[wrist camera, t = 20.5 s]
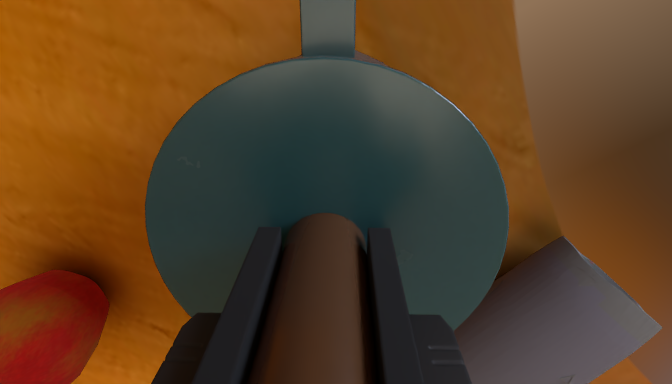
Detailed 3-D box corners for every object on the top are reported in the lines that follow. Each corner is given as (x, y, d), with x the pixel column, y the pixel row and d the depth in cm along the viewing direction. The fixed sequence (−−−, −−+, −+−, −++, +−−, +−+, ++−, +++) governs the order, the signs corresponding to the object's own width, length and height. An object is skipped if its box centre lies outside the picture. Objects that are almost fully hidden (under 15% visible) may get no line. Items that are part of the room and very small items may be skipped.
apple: (139, 266, 34) (40, 382, 23) (126, 333, 37) (35, 462, 26) (34, 233, 32) (-125, 340, 21) (30, 307, 36) (-107, 430, 25)
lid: (190, 349, 18) (50, 642, 9) (122, 54, 12) (-385, 117, 4) (469, 353, 17) (585, 660, 9) (531, 53, 12) (991, 122, 3)
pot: (263, 233, 32) (229, 322, 22) (241, 5, 24) (175, -9, 15) (406, 234, 32) (432, 325, 22) (426, 4, 24) (480, -11, 15)
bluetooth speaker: (420, 397, 40) (442, 506, 31) (356, 358, 38) (359, 463, 29) (600, 268, 33) (700, 361, 23) (534, 208, 30) (615, 286, 21)
